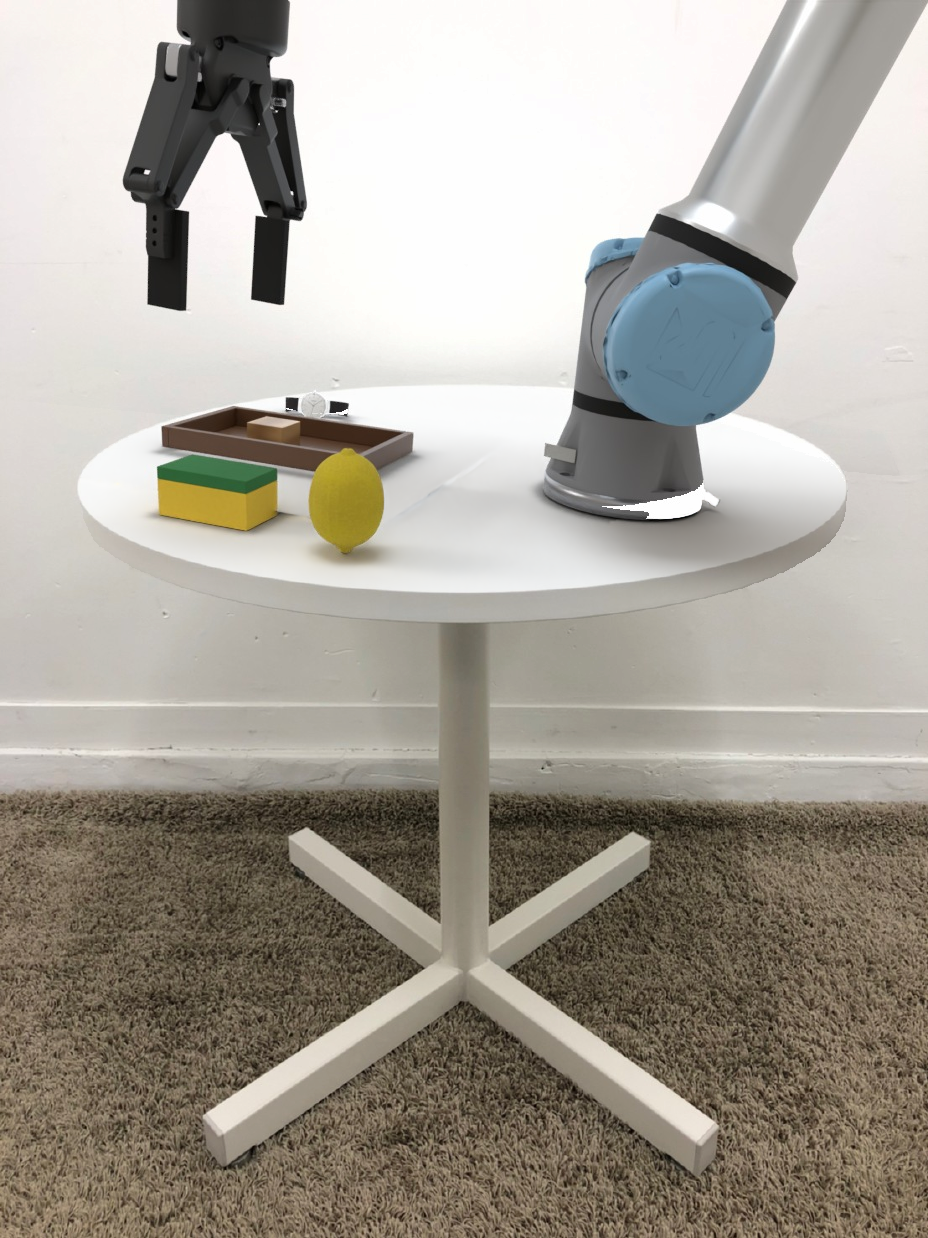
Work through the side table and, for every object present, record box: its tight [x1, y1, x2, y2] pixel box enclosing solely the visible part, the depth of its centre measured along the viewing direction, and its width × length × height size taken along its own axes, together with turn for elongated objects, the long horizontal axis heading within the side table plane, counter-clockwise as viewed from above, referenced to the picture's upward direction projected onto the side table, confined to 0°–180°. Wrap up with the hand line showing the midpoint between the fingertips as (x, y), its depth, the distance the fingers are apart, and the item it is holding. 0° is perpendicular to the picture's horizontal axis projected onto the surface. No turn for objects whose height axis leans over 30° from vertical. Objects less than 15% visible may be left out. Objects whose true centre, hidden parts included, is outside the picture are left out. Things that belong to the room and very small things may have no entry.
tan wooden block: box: [247, 416, 300, 446], centre depth 100 cm, size 4×4×2 cm
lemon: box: [308, 448, 385, 554], centre depth 71 cm, size 6×6×8 cm
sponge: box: [156, 454, 278, 532], centre depth 78 cm, size 5×8×4 cm, turn 72°
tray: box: [161, 405, 414, 473], centre depth 99 cm, size 22×14×3 cm, turn 72°
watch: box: [285, 389, 350, 419], centre depth 117 cm, size 8×5×4 cm, turn 85°
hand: (221, 305), depth 74 cm, fingers open, 13 cm apart
